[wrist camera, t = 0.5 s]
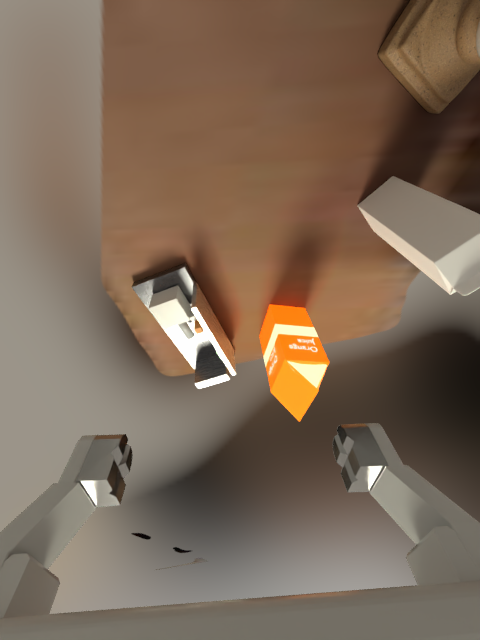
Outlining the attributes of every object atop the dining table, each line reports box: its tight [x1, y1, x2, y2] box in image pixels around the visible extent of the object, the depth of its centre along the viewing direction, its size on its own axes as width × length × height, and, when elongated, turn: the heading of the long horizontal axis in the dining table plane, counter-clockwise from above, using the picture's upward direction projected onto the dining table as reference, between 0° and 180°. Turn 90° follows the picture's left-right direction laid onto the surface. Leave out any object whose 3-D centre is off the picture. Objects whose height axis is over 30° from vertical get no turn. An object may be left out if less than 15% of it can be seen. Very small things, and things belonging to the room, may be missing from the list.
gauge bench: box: [132, 263, 236, 389], centre depth 51 cm, size 24×11×8 cm, turn 20°
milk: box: [358, 176, 480, 296], centre depth 34 cm, size 6×6×22 cm
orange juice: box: [259, 304, 329, 421], centre depth 49 cm, size 8×9×20 cm
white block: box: [148, 285, 198, 339], centre depth 48 cm, size 10×7×4 cm, turn 20°
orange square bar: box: [194, 320, 203, 334], centre depth 49 cm, size 1×1×5 cm
